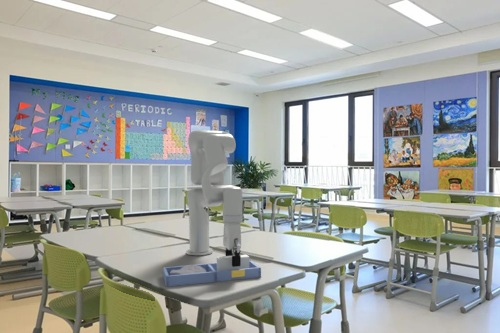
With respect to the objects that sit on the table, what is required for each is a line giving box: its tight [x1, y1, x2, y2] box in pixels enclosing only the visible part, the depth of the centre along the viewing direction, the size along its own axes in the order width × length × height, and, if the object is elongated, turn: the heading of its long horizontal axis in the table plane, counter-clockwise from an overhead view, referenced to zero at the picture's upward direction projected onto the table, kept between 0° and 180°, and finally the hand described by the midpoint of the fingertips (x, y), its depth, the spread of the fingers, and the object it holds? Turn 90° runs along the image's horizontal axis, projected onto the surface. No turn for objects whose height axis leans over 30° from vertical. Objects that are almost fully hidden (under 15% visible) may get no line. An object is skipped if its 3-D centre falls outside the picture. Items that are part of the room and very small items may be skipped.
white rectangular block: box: [216, 254, 250, 271], centre depth 149 cm, size 4×12×7 cm, turn 107°
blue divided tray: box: [162, 259, 262, 287], centre depth 146 cm, size 13×35×4 cm, turn 108°
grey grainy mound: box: [169, 264, 206, 276], centre depth 143 cm, size 12×5×10 cm
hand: (232, 263), depth 149 cm, fingers open, 9 cm apart
